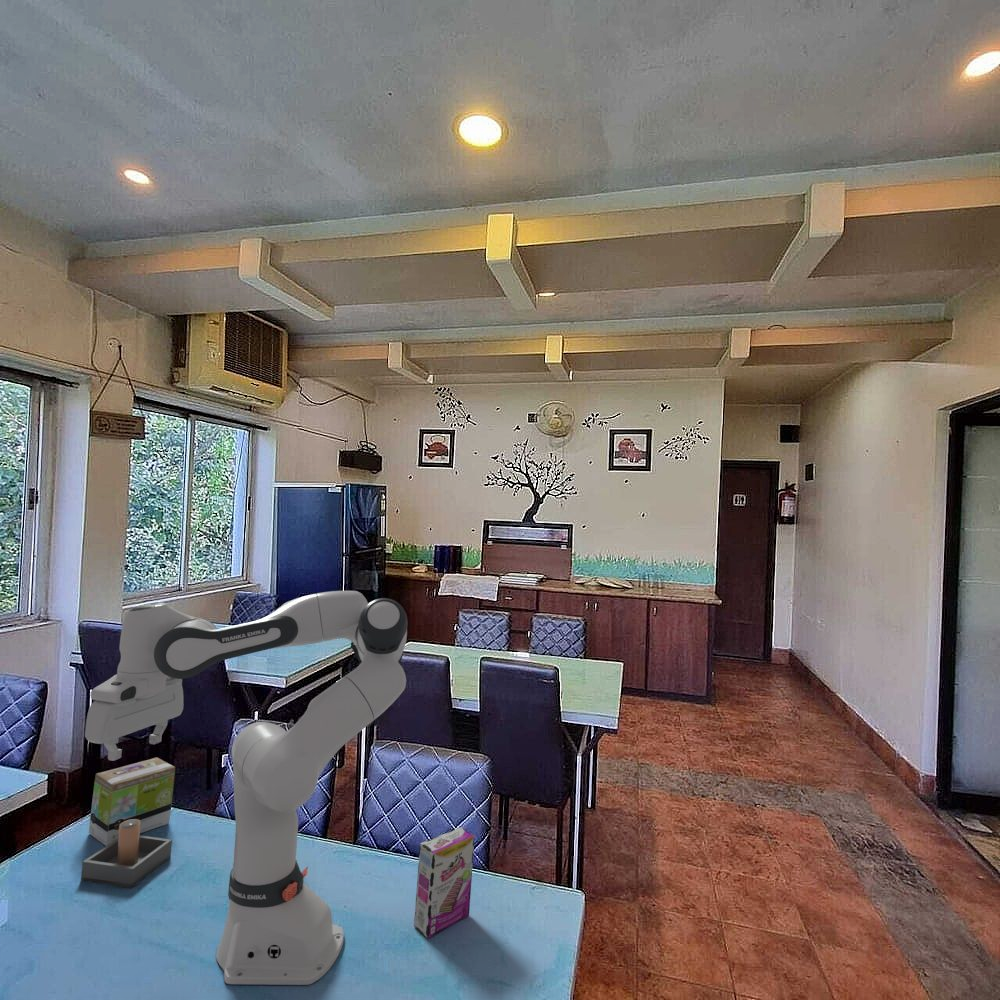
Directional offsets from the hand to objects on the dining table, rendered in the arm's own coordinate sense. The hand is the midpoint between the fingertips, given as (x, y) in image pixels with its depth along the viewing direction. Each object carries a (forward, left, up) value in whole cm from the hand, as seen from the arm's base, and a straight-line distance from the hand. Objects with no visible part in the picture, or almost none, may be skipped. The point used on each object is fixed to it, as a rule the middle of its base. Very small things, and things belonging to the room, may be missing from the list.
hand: (135, 750), depth 118 cm
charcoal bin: (+9, -12, -31) cm, 34 cm away
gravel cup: (+9, -12, -30) cm, 34 cm away
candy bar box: (-64, -10, -31) cm, 72 cm away
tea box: (+21, -27, -31) cm, 46 cm away
